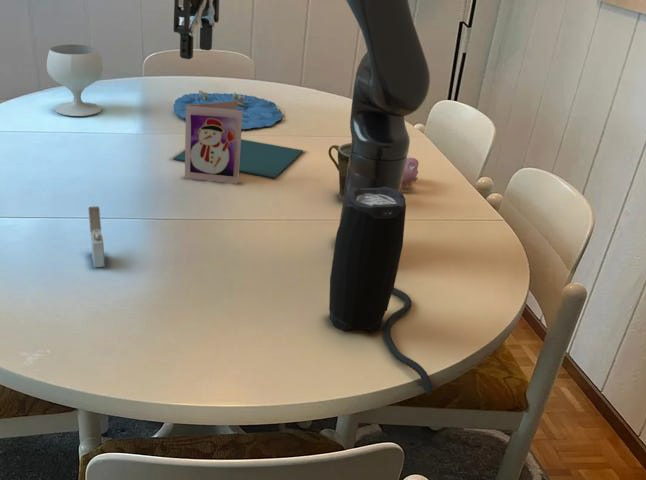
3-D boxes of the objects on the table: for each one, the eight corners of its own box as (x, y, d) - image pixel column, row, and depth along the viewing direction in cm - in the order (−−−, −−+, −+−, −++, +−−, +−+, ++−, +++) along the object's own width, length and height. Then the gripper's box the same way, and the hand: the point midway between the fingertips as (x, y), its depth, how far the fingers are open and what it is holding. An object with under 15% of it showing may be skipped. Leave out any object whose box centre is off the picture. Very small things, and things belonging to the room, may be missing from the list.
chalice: (100, 119, 181) (97, 57, 172) (45, 117, 181) (39, 54, 172) (108, 104, 192) (106, 45, 184) (56, 102, 192) (51, 42, 184)
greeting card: (183, 179, 149) (184, 106, 141) (191, 167, 156) (192, 96, 147) (237, 185, 148) (241, 111, 140) (242, 173, 154) (247, 101, 146)
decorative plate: (303, 116, 196) (306, 96, 193) (247, 141, 174) (249, 120, 171) (213, 92, 208) (215, 73, 205) (150, 113, 186) (151, 92, 183)
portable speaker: (312, 317, 106) (329, 192, 95) (355, 299, 111) (375, 178, 100) (355, 343, 101) (378, 213, 89) (398, 323, 106) (425, 198, 94)
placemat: (274, 179, 152) (274, 177, 152) (173, 159, 159) (173, 157, 159) (303, 152, 167) (303, 150, 167) (209, 135, 175) (209, 133, 174)
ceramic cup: (390, 200, 145) (399, 151, 139) (362, 213, 139) (370, 163, 133) (338, 182, 152) (344, 135, 147) (309, 194, 146) (315, 145, 140)
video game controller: (402, 201, 149) (424, 173, 145) (384, 189, 149) (405, 161, 145) (402, 184, 157) (422, 158, 153) (385, 173, 157) (405, 146, 153)
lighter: (104, 266, 116) (102, 221, 112) (94, 267, 116) (91, 221, 111) (101, 247, 122) (98, 203, 117) (90, 248, 121) (87, 203, 117)
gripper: (196, -54, 126) (193, 44, 136) (160, -48, 115) (159, 58, 125) (235, -50, 124) (230, 49, 133) (202, -44, 113) (199, 64, 122)
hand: (196, 53), depth 129 cm, fingers open, 8 cm apart
